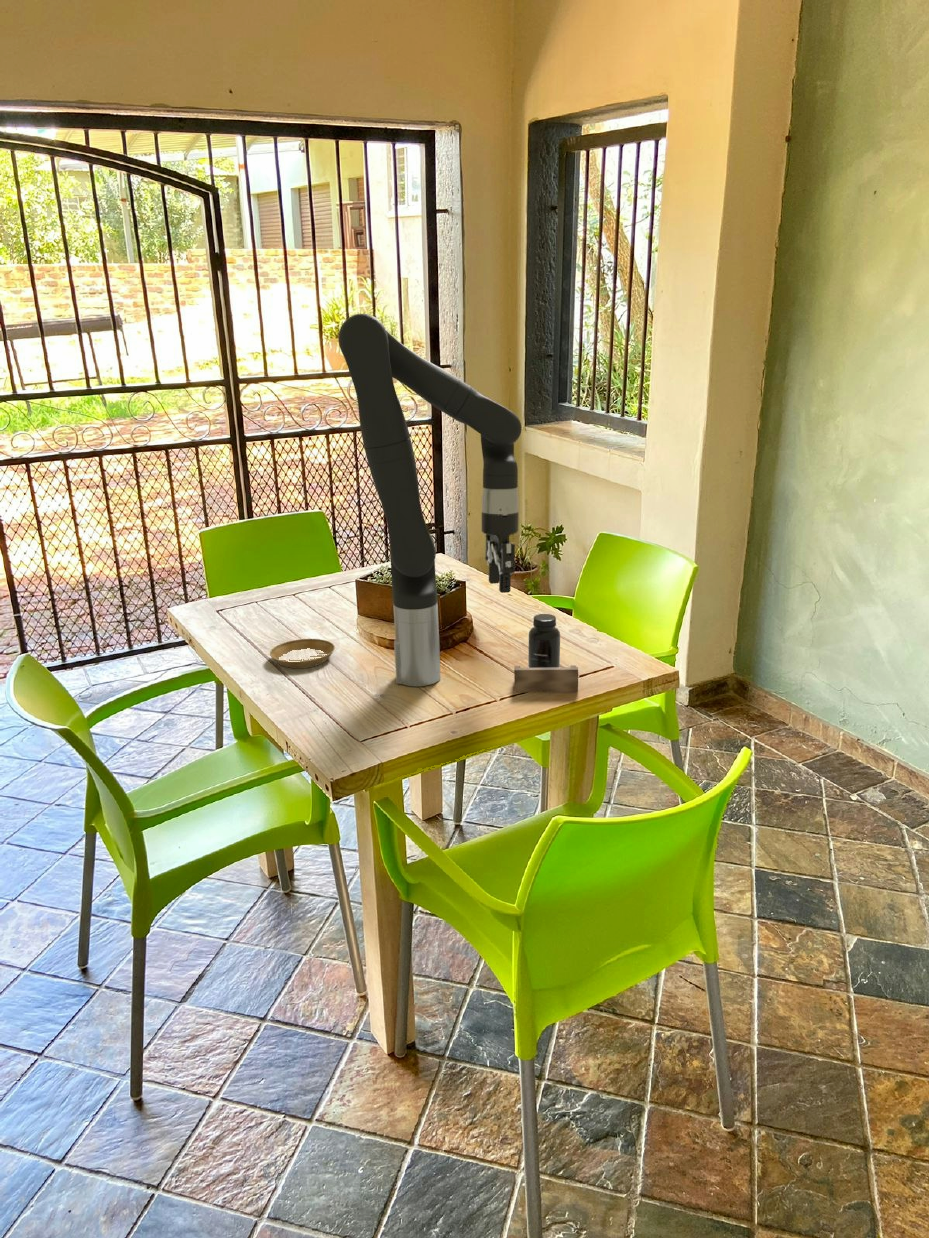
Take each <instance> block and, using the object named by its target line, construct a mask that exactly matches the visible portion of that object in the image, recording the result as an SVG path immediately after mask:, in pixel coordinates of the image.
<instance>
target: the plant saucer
mask: <svg viewBox="0 0 929 1238" xmlns="http://www.w3.org/2000/svg"><path fill="white" fill-rule="evenodd" d="M307 648H310V649H315V650H321V651H323V652H324V653H319V654H327V655H325V656H324V655H323V656H322V655H317V656H310V657H321V658H316V659H315V658H314V659H310V660H309V659H308V660H304V659H303V661H302V659H301V660H290V659H289V661H300V662H288V661H286V660H279V657H281V656H283V654H287V653H288V652H290V651H292V650H301V649H307ZM335 649H336V647H335V645H334V643H333V642H331V641H330V640H325V639H320V638H301V639H299V638H298V639H294V640H289V641H286V642H282V643H280V644H277V645H276V646H274V647H273V648H271V650H270V652H269V656H270V657H271V659H273V660H274V661H275V662H276V663H277V664H279V665H281V666H282V667H284V668H288V667H290V668H289V669H306V668H305V667H307V668H312V666H313V667H316V666H318V665H321V664H323V663H325V662H326V661H327V660H328V659H329V658H330V657H331V656H332V654H333V653H334V651H335ZM317 654H318V653H317ZM324 661H325V662H324Z"/></svg>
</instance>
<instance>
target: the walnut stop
mask: <svg viewBox="0 0 929 1238" xmlns="http://www.w3.org/2000/svg"><path fill="white" fill-rule="evenodd" d="M513 668H514V669H513V670H514V672H513V673H514V674H513V675H514V678H513V679H514V693H578V692H579V667H577V665H570V667H569V666H568V667H560V666H559V667H550V668H529V667H521V665H514V666H513ZM560 691H561V692H560ZM577 691H578V692H577Z"/></svg>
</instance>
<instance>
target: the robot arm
mask: <svg viewBox="0 0 929 1238" xmlns="http://www.w3.org/2000/svg"><path fill="white" fill-rule="evenodd" d="M338 331H339V332H338V338H337V339H338V341H337V342H338V346H339V349H340V352H341V353H342V355H343V358H344V361H345V363H346V366H347V368H348V369H347V370H348V372H349V375H350V377H351V381H352V384H353V386H354V390H355V395H356V398H357V399H356V400H357V407H358V409H357V410H358V415H359V416H358V418H359V427H360V432H361V437H362V439H361V440H362V444H363V447H364V453H365V457H366V460H367V464H368V467H369V471H370V474H371V478H372V481H373V484H374V487H375V489H376V492H377V496H378V498H379V501H380V504H381V507H382V508H383V512H384V517H385V520H386V527H387V534H388V539H389V540H388V541H389V555H390V556H389V557H390V558H389V559H390V571H391V572H390V573H391V589H392V605H393V618H394V619H393V620H394V637H395V638H394V642H393V647H394V648H393V649H394V650H393V652H394V663H395V664H394V665H395V667H394V668H395V681H396V682H395V683H396V684H397V685H398V684H399V685H404V686H408V687H425V686H430V685H434V684H436V683H438V682H439V680H441V677H442V676H441V657H440V654H441V653H440V634H439V630H440V629H439V613H438V612H439V609H438V608H439V607H438V589H437V587H438V586H437V578H436V564H435V563H436V555H437V551H436V545H435V541H434V538H433V537H432V535H431V533H430V531H429V529H428V526H427V523H426V520H425V516H424V512H423V509H422V506H421V499H420V497H421V496H420V489H419V486H420V485H419V476H418V470H417V463H416V458H415V452H414V447H413V443H412V439H411V435H410V430H409V427H408V424H407V421H406V417H405V414H404V411H403V408H402V406H401V403H400V401H399V398H398V395H397V391H396V389H395V385H394V379H395V380H396V381H398V382H399V383H401V384H402V385H404V386H405V387H407V388H408V389H410V390H411V391H412V392H414V393H416V395H418V396H419V397H420V398H422V399H424V400H425V401H426V402H427V403H429V404H430V405H431V406H433V407H434V408H436V409H438V410H439V411H440V412H443V414H445V415H447V416H449V417H450V418H452V419H453V420H454V421H457V422H459V423H461V424H464V425H465V426H468V427H469V428H471V429H473V430H474V431H476V432H477V433H478V434H479V435H480V444H481V445H480V446H481V452H482V453H481V454H482V459H483V460H482V461H483V466H482V467H483V468H482V494H481V532H482V534H485V553H484V554H485V556H484V557H485V558H484V559H485V561H486V563H487V566H488V583H490V584H498V585H499V586H498V588H499V589H498V591H499V592H500V593H502V594H503V593H504V594H505V593H506V594H507V593H510V592H511V590H512V589H511V585H512V584H511V583H512V582H511V581H512V579H511V578H512V576H511V575H512V574H514V573H515V572H516V569H515V568H516V565H515V564H516V559H515V557H516V555H515V553H516V551H515V550H516V547H515V546H516V545H515V543H514V542H511V541H510V536H511V535H516V534H518V532H519V509H520V508H519V505H520V504H519V503H520V500H519V492H518V491H519V490H518V479H519V478H518V477H519V476H518V474H519V472H518V471H519V469H518V467H519V466H518V463H517V460H516V458H515V443H516V442H517V441H518V439H519V438H520V436H521V433H522V423H521V420H520V418H519V416H517V414H516V413H514V412H513V411H512V410H510V409H509V408H507V407H506V406H503V404H502V405H501V404H500V403H498V402H496V401H494V400H493V399H490V398H489V397H487V396H484V395H483V394H482V393H480V392H479V391H477V389H476V388H473V387H472V386H471V385H470V384H467V383H466V382H465V381H463V380H462V379H460V378H458V377H457V376H456V375H454V374H452V373H450V372H449V371H447V370H445V369H443V368H442V367H440V366H439V365H437V364H434V363H433V362H430V361H429V360H427V359H426V358H423V357H422V356H420V355H419V354H417V353H415V352H414V351H412V350H411V349H410V348H408V347H407V346H406V345H404V344H403V343H402V342H401V341H399V340H398V339H397V338H396V337H394V335H392V334H391V333H390V332H389V331H388V330H387V329H386V327H385V325H384V324H383V322H382V321H380V320H379V319H378V318H377V317H376V316H374V315H371V314H367V313H357V314H353V315H351V316H349V317H348V318H346V319H345V320H344V321H343V323H342V324H341V326H340V328H339V330H338Z"/></svg>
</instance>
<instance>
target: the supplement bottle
mask: <svg viewBox="0 0 929 1238" xmlns="http://www.w3.org/2000/svg"><path fill="white" fill-rule="evenodd" d="M532 625H533V627H532V628H530V630H529V632H528V666H527V667H528V668H550V667H560V665H561V664H560V659H561V657H560V655H561V632H560V630H559V629H558V628H557V627H556V626H557V618H556V616H555V615H553V614H550V613H540V614H539V613H538V614H535V615H534V616H533V623H532Z"/></svg>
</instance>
